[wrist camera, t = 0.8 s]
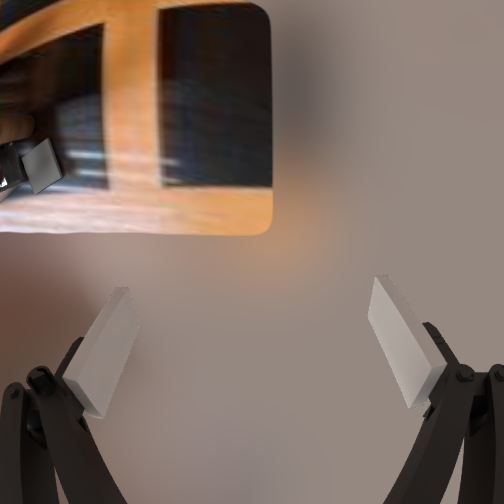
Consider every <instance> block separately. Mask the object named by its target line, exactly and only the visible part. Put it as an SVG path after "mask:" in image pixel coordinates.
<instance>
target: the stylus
mask: <svg viewBox="0 0 504 504" xmlns="http://www.w3.org/2000/svg"><path fill="white" fill-rule="evenodd" d="M34 128H35V121H34V118H33V117H32V116H31V115H20V116H12V117H5V118H0V144H3V143H7V142H11V141H15V140H20V139H24V138H28V137H30V136H31V135H32V133H33V131H34Z"/></svg>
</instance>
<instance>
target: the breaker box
mask: <svg viewBox="0 0 504 504" xmlns="http://www.w3.org/2000/svg"><path fill="white" fill-rule="evenodd" d="M26 181H28V180H27V178H26V175H25V172H24V169H23V166H22V163H21V160H20V157H19V154H18V151H17V147H16V144H15V141H11V142H7V143H3V144H0V202H1V201H3V200H4V199H5V198H6V197H7V196H9V195H10V194H11V193H12V192H14V191H15V190H16V189H17V188H19V187H20V186H21V185H23V184H24V183H25V182H26Z"/></svg>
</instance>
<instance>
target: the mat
mask: <svg viewBox="0 0 504 504" xmlns="http://www.w3.org/2000/svg"><path fill="white" fill-rule="evenodd" d="M22 161H23V164H24V167H25V170H26V173H27V176H28V178H29V181H30V184H31V186H32V189H33V192H34V194H37V193H39V192H40V191H42V190H43V189H45V188H46V187H48V186H49V185H51V184H52V183H54V182H55V181H57V180H59V179H60V178H62V177H63V176H62V173H61V170H60V168H59V165H58V162H57V159H56V157H55V154H54V151H53V148H52V145H51V142H50V139H49V138H47V139H46V140H44V141H43V142H42V143H40V144H39V145H38V146H36V147H35V148H34V149H32V150H31V151H30V152H29V153H27V154H26V155H25V156H24V157H23V158H22Z"/></svg>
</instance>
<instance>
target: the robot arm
mask: <svg viewBox="0 0 504 504" xmlns="http://www.w3.org/2000/svg"><path fill="white" fill-rule="evenodd" d="M367 317H368V319H369V321H370V323H371V325H372V327H373V330H374V332H375V334H376V336H377V338H378V340H379V342H380V344H381V346H382V349H383V351H384V353H385V355H386V357H387V359H388V362H389V364H390V366H391V368H392V371H393V373H394V375H395V377H396V380H397V382H398V384H399V387H400V389H401V391H402V394H403V396H404V399H405V401H406V403H407V406H408V408H409V409H411V408H415V407H419V406H422V405H424V403H425V402H426V400H427V398H428V397H429V400H430V402H431V405H430V406H429V408H428V409H427V411H426V412H425V414H424V415H423V417H425V419H424V421H423V424H422V426H421V429H420V432H419V434H418V436H417V438H416V441H415V443H414V445H413V448H412V450H411V452H410V454H409V456H408V458H407V460H406V462H405V465H404V467H403V469H402V471H401V472H400V474H399V477H398V478H397V480H396V482H395V484H394V486H393V487H392V489H391V491H390V493H389V494H388V496H387V498H386V500H385V501H384V503H383V504H440V502H441V500H442V498H443V495H444V493H445V491H446V488H447V486H448V483H449V480H450V478H451V475H452V473H453V470H454V467H455V464H456V461H457V458H458V455H459V452H460V449H461V446H462V442H463V439H464V454H463V467H462V475H461V484H460V491H459V497H458V503H457V504H504V365H501V364H495V365H494V366H492V367H491V369H490V370H489V372H484V373H482V372H474V370H473V369H472V368H471V367H469V366H467V365H465V364H460V363H459V362H458V360H457V358H456V357H455V355H454V354H453V352H452V351H451V349H450V348H449V346H448V345H447V343H445V340H444V338H443V337H441V334H440V332H439V331H438V330H437V328H436V327H434V326H433V325H432V324H430V323H429V322H426V323H421V321H420V320H419V318H418V317H417V315H416V314H415V313H414V311H413V309H412V308H411V306H410V305H409V304H408V302H407V301H406V299H405V298H404V296H403V295H402V294H401V292H400V291H399V289H398V288H397V287H396V285H395V284H394V282H393V281H392V280H391V279H390V277H389V276H388V275H382V276H375V281H374V287H373V292H372V297H371V302H370V307H369V312H368V316H367ZM140 328H141V325H140V322H139V319H138V317H137V314H136V311H135V307H134V304H133V301H132V298H131V295H130V292H129V288H128V287H116V288H115V290H114V292H113V293H112V295H111V296H110V298H109V299H108V301H107V302H106V304H105V305H104V307H103V309H102V310H101V312H100V313H99V315H98V317H97V318H96V320H95V321H94V323H93V324H92V326H91V328H90V329H89V331H88V333H87V334H86V336H85V337H79V338H78V339H77V340H76V341H75V342H74V343H73V344H72V346H71V347H70V349H69V350H68V352H67V354H66V355H65V358H64V359H63V361H62V362H61V364H60V366H59V367H58V369H57V371H56V373H55V375H54V376H53V374H52V373H51V371H50V370H49V368H47V367H45V366H38V367H36V368H34V369H33V370H31V371H30V372H29V374H28V376H27V379H26V382H27V384H28V385H29V386H30V388H31V389H27V390H26V389H25V388H24V387H23V385H22V384H21V383H19V382H14V383H11V384H10V385H9V386H7V388H6V389H5V391H4V394H3V400H2V407H1V415H0V504H59V498H58V492H57V487H56V478H55V470H54V466H55V469H56V472H57V475H58V478H59V480H60V483H61V485H62V488H63V490H64V493H65V495H66V498H67V500H68V502H69V504H127V502H126V501H125V499H124V497H123V496H122V494H121V492H120V491H119V489H118V487H117V485H116V484H115V482H114V480H113V478H112V476H111V474H110V472H109V470H108V469H107V467H106V465H105V463H104V461H103V459H102V457H101V454H100V452H99V451H98V448H97V446H96V444H95V441H94V439H93V437H92V435H91V432H90V430H89V428H88V425H87V423H86V420H85V418H84V417H83V415H82V414H83V411H84V409H85V410H86V412H87V413H88V414H89V415H90V416H91V417H96V418H101V419H104V418H105V415H106V412H107V409H108V406H109V404H110V401H111V398H112V396H113V393H114V391H115V388H116V385H117V383H118V380H119V378H120V375H121V373H122V370H123V368H124V365H125V363H126V361H127V358H128V356H129V353H130V351H131V348H132V346H133V344H134V341H135V339H136V337H137V335H138V332H139V330H140Z"/></svg>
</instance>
